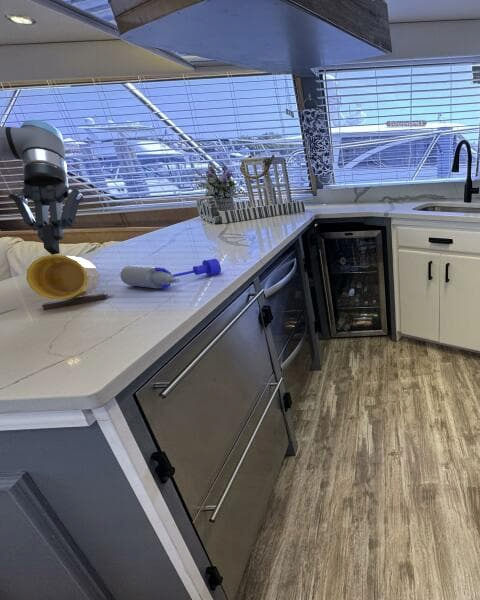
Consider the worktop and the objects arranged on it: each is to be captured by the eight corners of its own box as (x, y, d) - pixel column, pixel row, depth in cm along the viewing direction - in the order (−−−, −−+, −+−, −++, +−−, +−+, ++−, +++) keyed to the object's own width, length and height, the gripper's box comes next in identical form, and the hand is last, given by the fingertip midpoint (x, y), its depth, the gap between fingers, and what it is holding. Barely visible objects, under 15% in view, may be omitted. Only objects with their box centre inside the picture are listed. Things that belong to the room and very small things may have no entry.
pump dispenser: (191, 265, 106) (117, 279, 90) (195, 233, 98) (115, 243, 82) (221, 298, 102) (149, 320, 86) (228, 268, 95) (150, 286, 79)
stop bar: (43, 309, 77) (41, 305, 77) (46, 307, 78) (44, 302, 78) (107, 298, 82) (105, 294, 82) (108, 296, 84) (106, 292, 83)
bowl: (43, 295, 79) (24, 297, 72) (47, 253, 78) (28, 251, 71) (98, 298, 83) (85, 301, 76) (101, 259, 83) (89, 258, 76)
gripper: (87, 182, 86) (96, 254, 79) (21, 187, 81) (24, 265, 74) (71, 160, 80) (79, 236, 73) (-2, 163, 75) (-1, 246, 67)
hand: (51, 250), depth 73 cm, fingers closed
